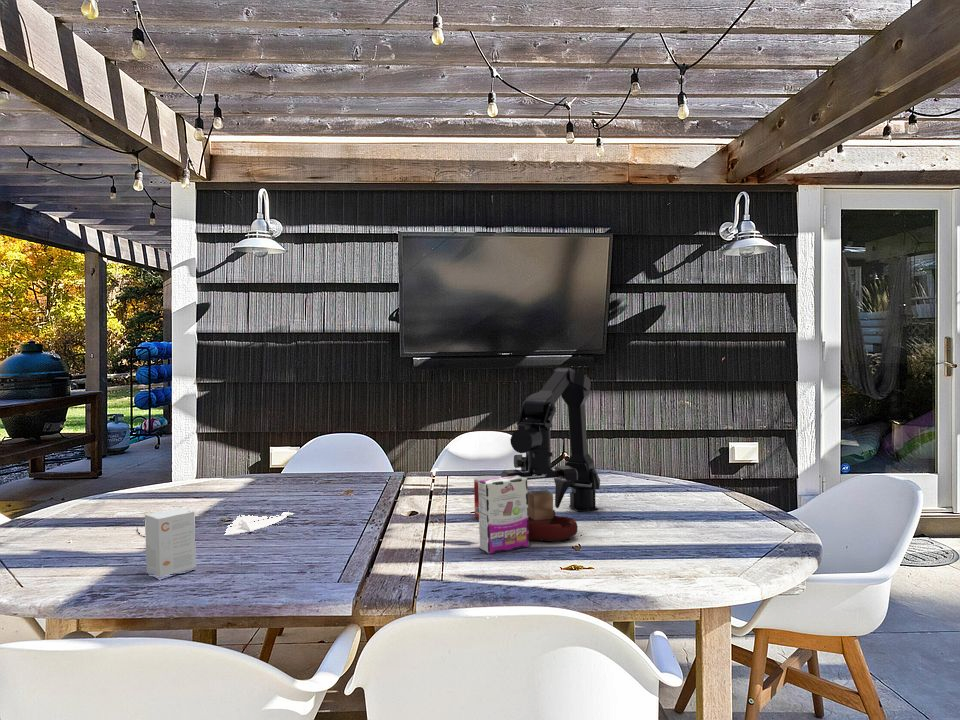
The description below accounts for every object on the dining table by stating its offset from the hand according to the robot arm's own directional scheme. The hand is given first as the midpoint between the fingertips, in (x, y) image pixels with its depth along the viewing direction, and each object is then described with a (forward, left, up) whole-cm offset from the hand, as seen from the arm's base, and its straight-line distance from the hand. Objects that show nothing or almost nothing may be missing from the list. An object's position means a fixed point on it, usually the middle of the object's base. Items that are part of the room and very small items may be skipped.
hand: (540, 509), depth 164 cm
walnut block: (0, 0, -2) cm, 2 cm away
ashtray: (+1, 0, -7) cm, 7 cm away
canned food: (+7, -21, -7) cm, 23 cm away
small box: (+85, 0, -7) cm, 85 cm away
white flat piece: (+80, -43, -7) cm, 91 cm away
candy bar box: (+12, +7, -7) cm, 15 cm away
